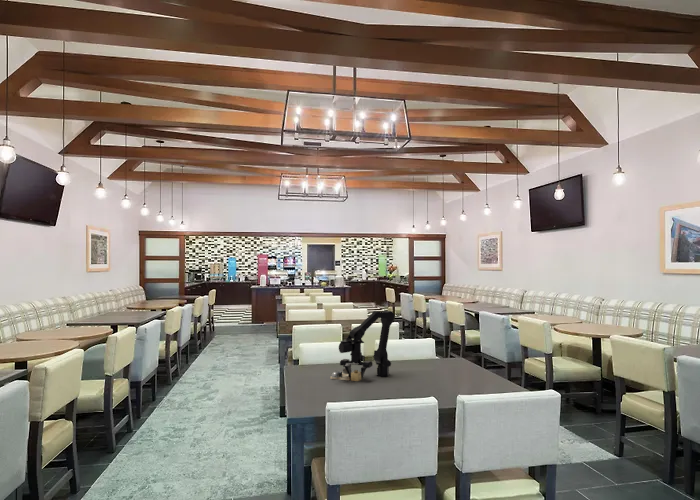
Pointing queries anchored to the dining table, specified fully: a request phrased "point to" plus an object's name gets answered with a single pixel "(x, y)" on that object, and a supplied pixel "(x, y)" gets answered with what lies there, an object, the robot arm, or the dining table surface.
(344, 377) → the cream mounting plate
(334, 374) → the shaft
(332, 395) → the dining table surface
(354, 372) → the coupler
